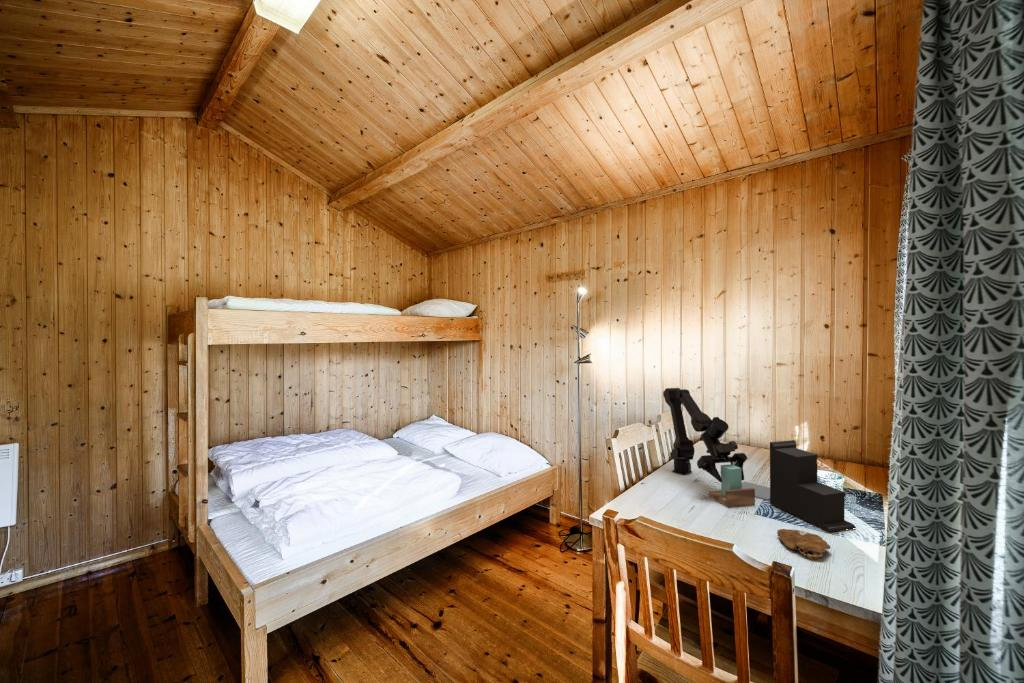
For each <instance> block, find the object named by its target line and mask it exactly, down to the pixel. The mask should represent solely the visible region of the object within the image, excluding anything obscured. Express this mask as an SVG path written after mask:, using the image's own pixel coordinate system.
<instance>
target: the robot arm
mask: <svg viewBox="0 0 1024 683" xmlns="http://www.w3.org/2000/svg"><path fill="white" fill-rule="evenodd" d="M662 396H663V397H664V401H665V403H666V404H667V406H668V407H669V409H670V414H671V420H672V425H673V430H674V434H675V439H674V441H673V449H672V450H671V451H670V452H669V455H670V459H672V460H673V470H672V471H671V472H672V473H676V474H679V475H683V476H686V475H688V474H691V473H692V472H693V471H692V463H691V460H694V456H695V452H696V451H695V446H694V442H693V440H692V439H690V438H689V437H688V435H687V429H686V423H685V419H684V413H683V410H682V405H683V407H684V408H685V410H686V412H687V413H688V415H689V417H690V424H691V426H692V428H693V430H694V431H695V432H697V433H700V432H702V434H700V437H699V438H698V440H699V441H700V442H703V443H704V445H705V447H706V451H705V452H706V454H707V455H701V456H700V458H699V459H698V460H697V461H696V466H697V467H698V469H699V470H700V469H702V471H705V472H707V473H708V474H710V476H712V477H713V478H714V479H715V480H717V481H718V482H719V483H721V482H722V479H721V473H719V471H718V469H717V467H716V466H717V465H716V464H723V463H726V464H727V463H729V464H730V465H731V464H733V465H735V466H737V467H739V468H741V473H742V481H744V480H745V476H744V467H743V466H744V463H745V462H746V461H747V460H748V456H747V455H746V453H744V452H736V450H738V448H739V446H738V444H737V442H736V441H735V440H732V441H728V442H726V443H724V442H721V440H720V439H721V438H723V436H724V435H725V434H726V432H727V431H728V430H729V424H728V423H727V422H726V421H725V420H723V419H721V418H720V417H719V416H714V417H712V418H710V416H709V415H708V414H706V413H705V412H704V411H703V412H702V410H701V408H700V407H699V406H698V405H697V402H696V401H695V400H694V398H693V397H692V395H691V392H690V390H689V389H686V388H685V389H681V388H680V387H669V388H668V387H667V388H665V389H664V391H663V393H662ZM732 452H735V453H734V454H732ZM731 454H732V456H730V455H731Z"/></svg>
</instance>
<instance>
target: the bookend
mask: <svg viewBox="0 0 1024 683" xmlns="http://www.w3.org/2000/svg"><path fill="white" fill-rule="evenodd" d="M818 458H819V455H818V454H816V453H813V452H810V451H807V450H803V449H801V448H797V442H796V440H793V439H790V440H779V441H778V440H777V441H770V442H769V487H770V500H769V504H770V505H772V506H774V507H776V508H779V509H780V510H783V511H784V512H787V513H788V514H791V515H792V514H793V516H794V515H795V516H794V517H796V516H797V517H796V518H798V517H800V518H801V519H800V518H799V519H800V520H802V519H804V520H806V521H805V522H807V521H808V522H807V523H809V522H810V523H812V524H811V525H813V524H814V525H813V526H815V525H816V526H815V527H817V526H818V527H817V528H819V527H820V528H819V529H821V528H822V529H821V530H823V529H824V530H823V531H825V530H826V531H825V532H827V531H828V532H827V533H829V532H831V533H835V532H834V531H839V532H841V531H840V530H846V529H853V528H856V529H857V526H855V524H854V523H852V522H850V521H847V520H846V519H845V504H846V503H845V500H846V499H845V497H846V491H842V490H839V488H838V489H837V488H835V487H831V486H830V485H827V484H824V483H822V482H819V481H818ZM804 520H803V521H804ZM810 523H809V524H810Z"/></svg>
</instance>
